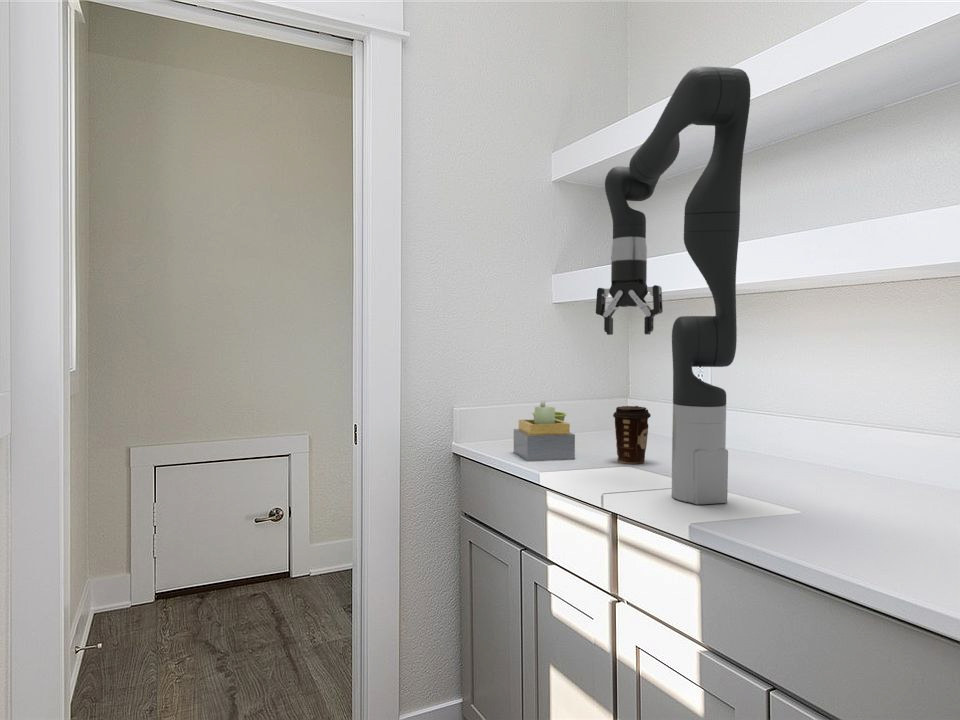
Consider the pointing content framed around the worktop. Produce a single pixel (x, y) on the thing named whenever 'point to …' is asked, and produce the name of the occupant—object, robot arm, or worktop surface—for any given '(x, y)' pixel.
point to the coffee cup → (631, 433)
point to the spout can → (544, 414)
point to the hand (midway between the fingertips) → (628, 334)
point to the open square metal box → (544, 441)
